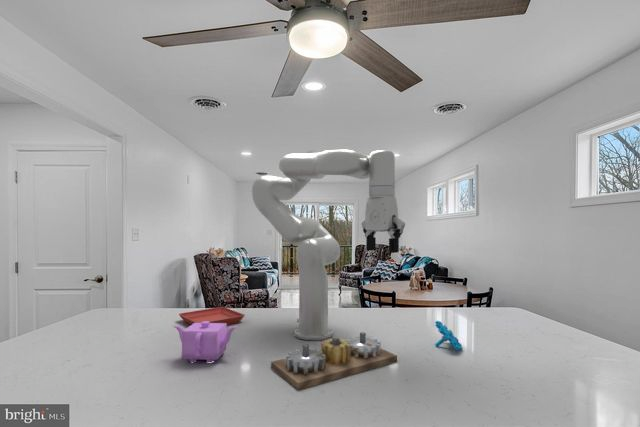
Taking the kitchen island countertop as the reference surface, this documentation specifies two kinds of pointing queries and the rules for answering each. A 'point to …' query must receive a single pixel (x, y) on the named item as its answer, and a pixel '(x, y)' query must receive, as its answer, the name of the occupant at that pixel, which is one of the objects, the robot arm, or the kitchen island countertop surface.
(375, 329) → the kitchen island countertop surface
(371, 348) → the gear
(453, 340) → the gear
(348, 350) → the brass gear
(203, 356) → the teapot
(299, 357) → the gear
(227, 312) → the plant saucer
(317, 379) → the gear board
